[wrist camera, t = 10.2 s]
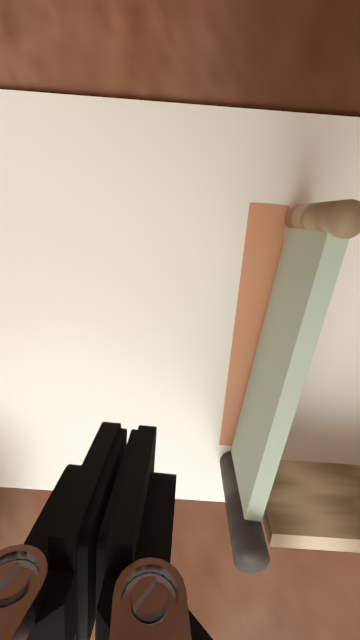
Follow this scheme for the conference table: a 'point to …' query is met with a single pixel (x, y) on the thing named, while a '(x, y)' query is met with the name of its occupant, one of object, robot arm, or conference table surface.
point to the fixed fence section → (296, 511)
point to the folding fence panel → (289, 341)
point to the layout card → (161, 279)
